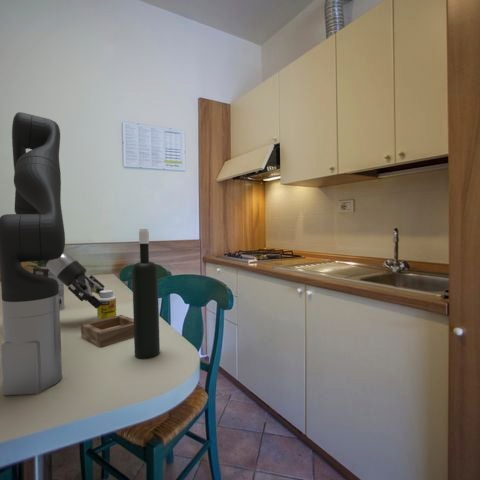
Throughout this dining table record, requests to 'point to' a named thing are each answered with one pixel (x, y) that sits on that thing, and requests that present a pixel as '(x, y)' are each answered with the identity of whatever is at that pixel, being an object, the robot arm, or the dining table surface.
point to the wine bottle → (145, 302)
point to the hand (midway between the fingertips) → (104, 302)
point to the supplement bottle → (106, 305)
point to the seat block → (108, 330)
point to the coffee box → (46, 273)
